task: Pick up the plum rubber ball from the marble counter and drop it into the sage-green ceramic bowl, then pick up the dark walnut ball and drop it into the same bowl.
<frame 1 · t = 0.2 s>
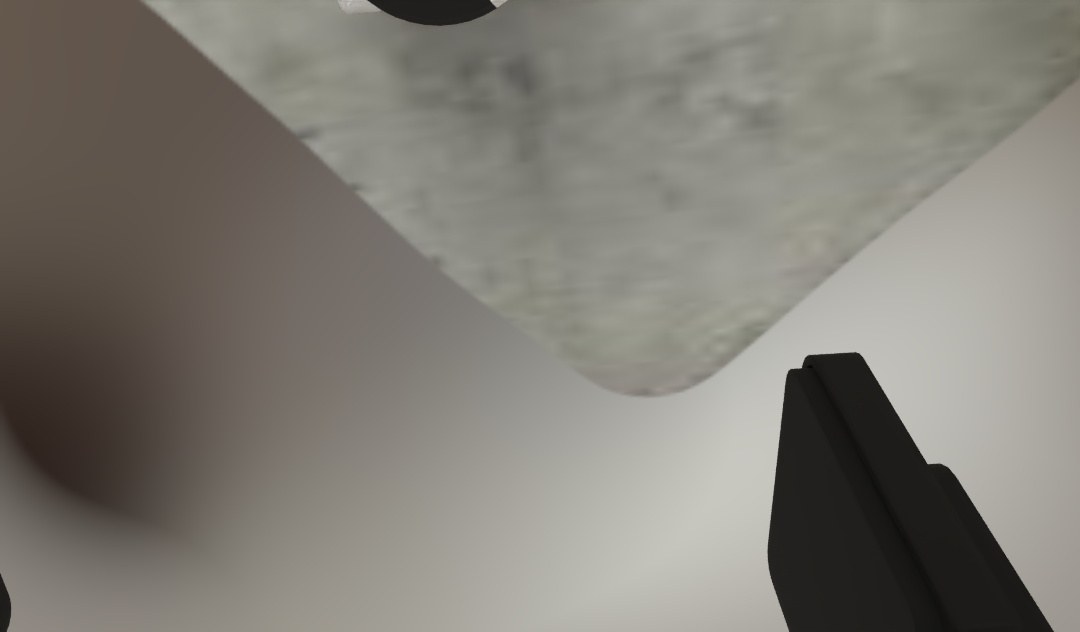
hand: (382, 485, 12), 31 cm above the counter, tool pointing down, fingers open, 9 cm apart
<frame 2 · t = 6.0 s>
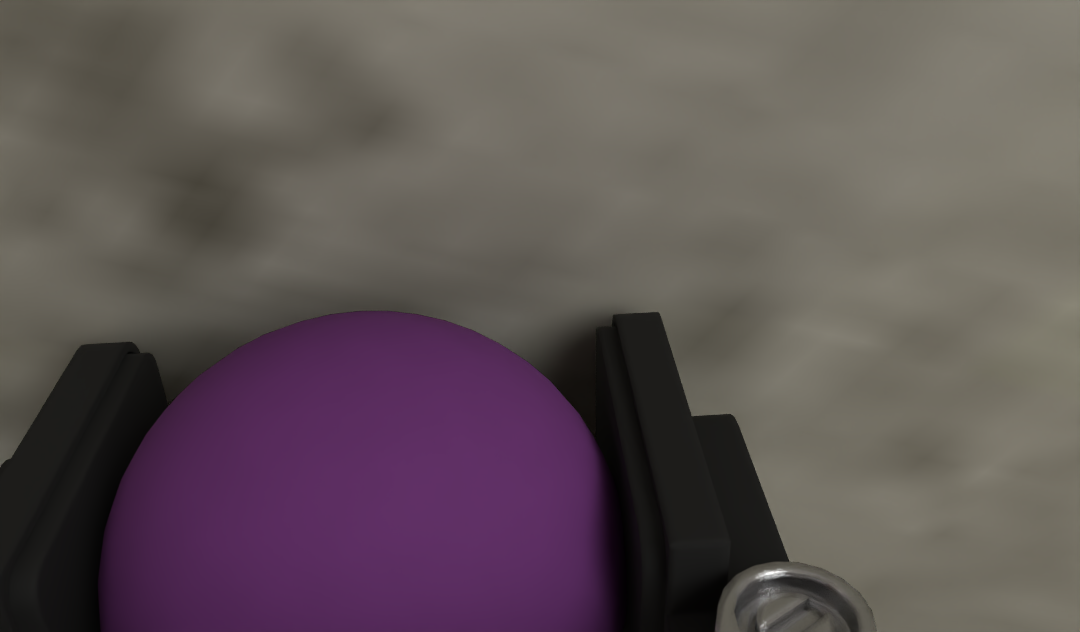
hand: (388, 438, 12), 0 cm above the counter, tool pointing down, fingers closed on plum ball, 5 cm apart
plum ball: (374, 565, 11), point 3 cm above the counter, touching gripper
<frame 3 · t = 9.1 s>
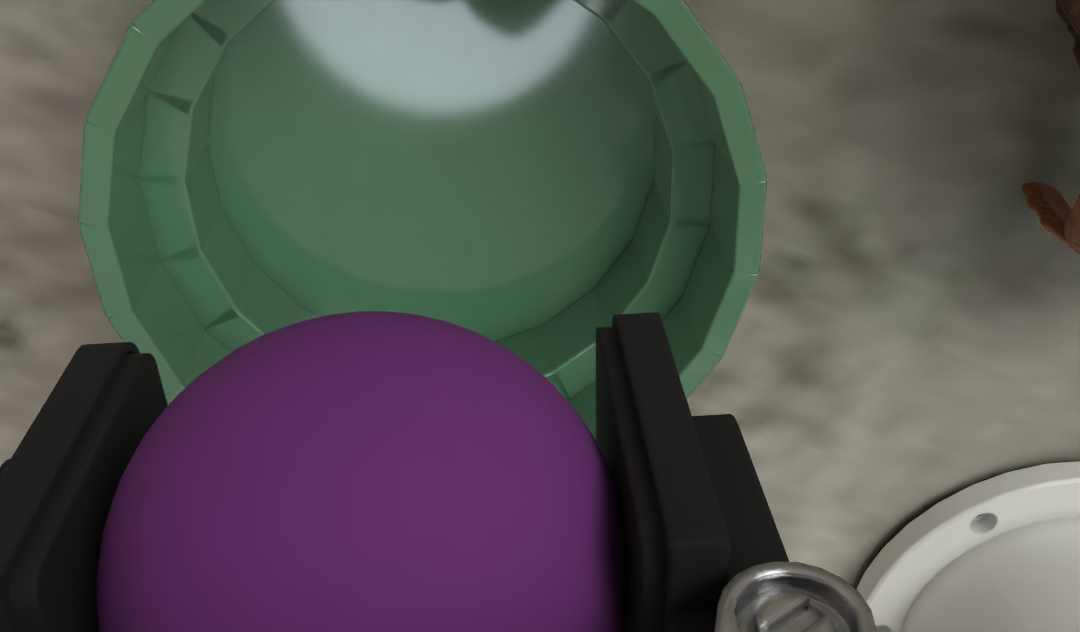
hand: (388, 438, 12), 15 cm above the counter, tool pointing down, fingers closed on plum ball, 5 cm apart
bowl: (436, 152, 27), on the counter
plum ball: (373, 566, 11), point 17 cm above the counter, touching gripper
when the fingers open (4 cm above the counter, at t = 12.3 s): plum ball drops 3 cm, resting on bowl.
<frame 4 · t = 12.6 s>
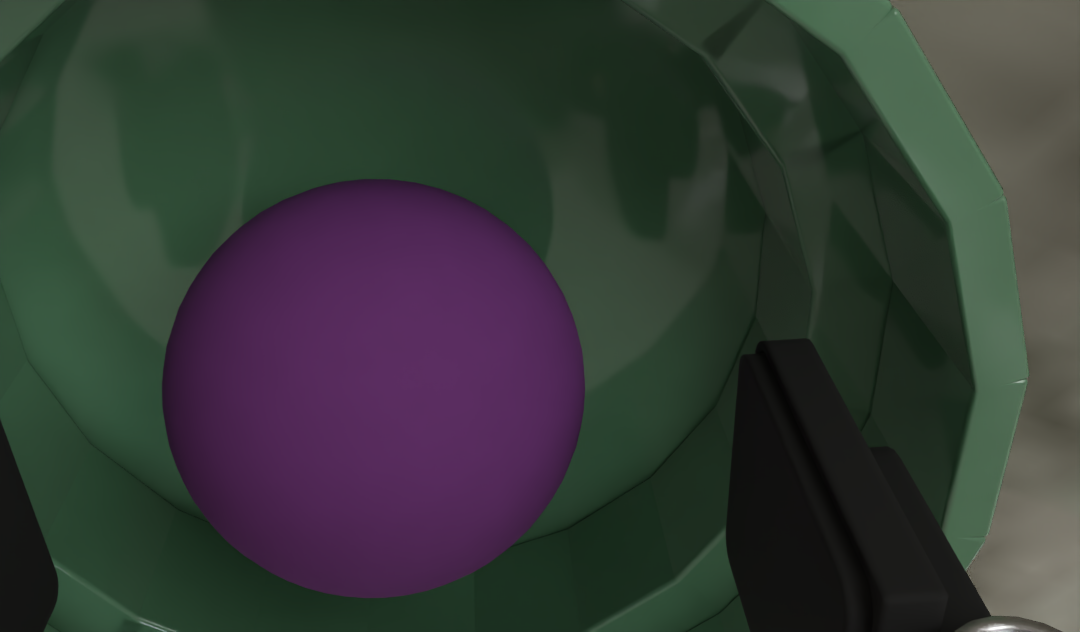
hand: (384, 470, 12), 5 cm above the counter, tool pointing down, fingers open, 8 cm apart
bowl: (393, 266, 16), on the counter
plum ball: (380, 385, 13), point 3 cm above the counter, touching bowl
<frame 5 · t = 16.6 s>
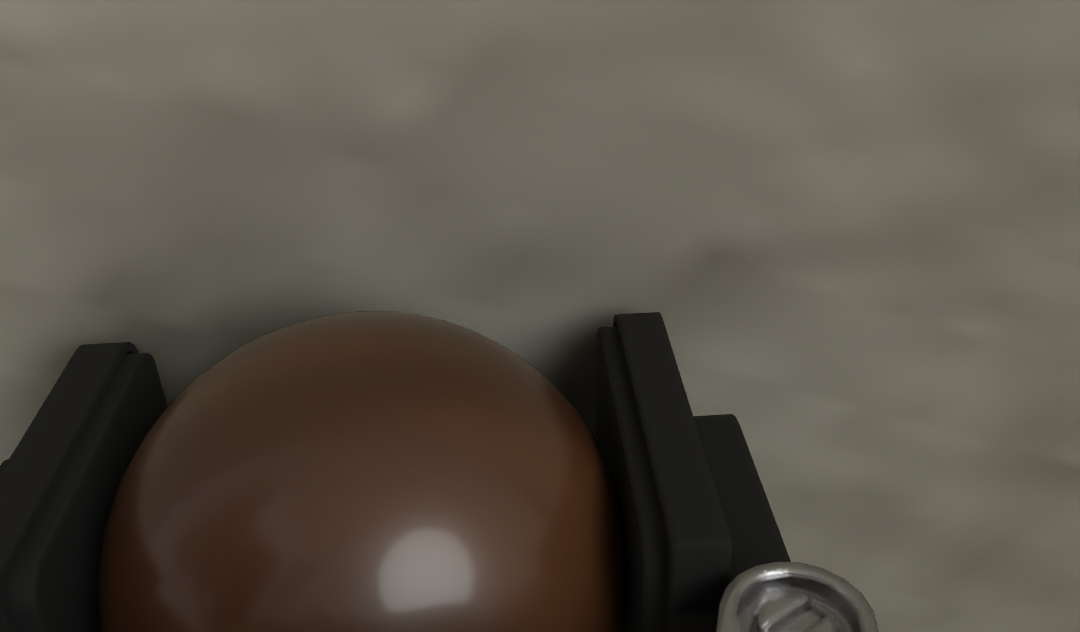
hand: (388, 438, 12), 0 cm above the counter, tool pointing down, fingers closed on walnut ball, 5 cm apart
walnut ball: (374, 565, 11), point 3 cm above the counter, touching gripper
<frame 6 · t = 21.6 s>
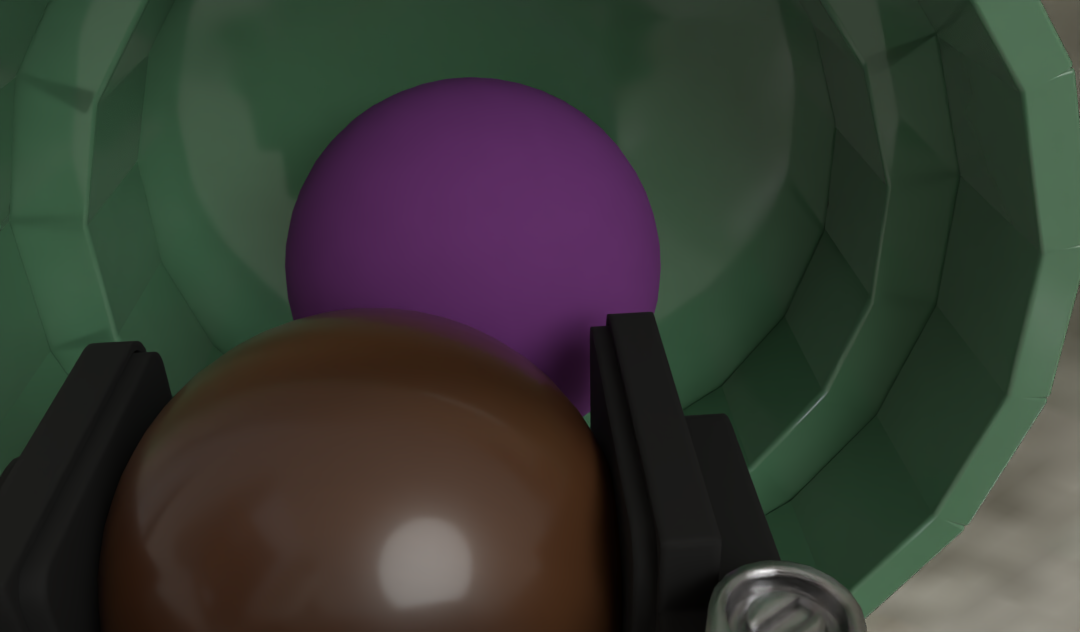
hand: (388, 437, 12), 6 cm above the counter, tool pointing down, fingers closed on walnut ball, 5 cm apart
walnut ball: (374, 562, 11), point 8 cm above the counter, touching gripper, plum ball
bowl: (492, 180, 17), on the counter
plum ball: (475, 266, 15), point 3 cm above the counter, tilted 7°, touching bowl, walnut ball
when the fingers open (6 cm above the counter, at t = 21.6 s): walnut ball drops 4 cm and tips over, resting on bowl.
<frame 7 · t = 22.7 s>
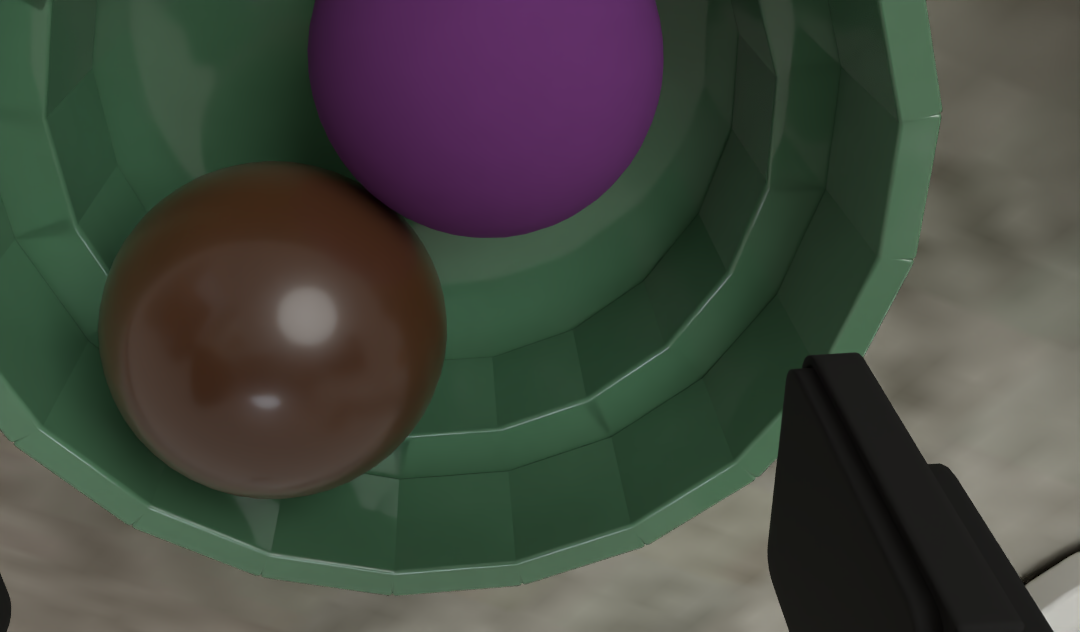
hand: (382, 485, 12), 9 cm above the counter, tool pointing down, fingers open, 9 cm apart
walnut ball: (279, 329, 16), point 4 cm above the counter, tilted 127°, touching bowl
bowl: (425, 87, 19), on the counter
plum ball: (487, 62, 15), point 3 cm above the counter, tilted 37°, touching bowl
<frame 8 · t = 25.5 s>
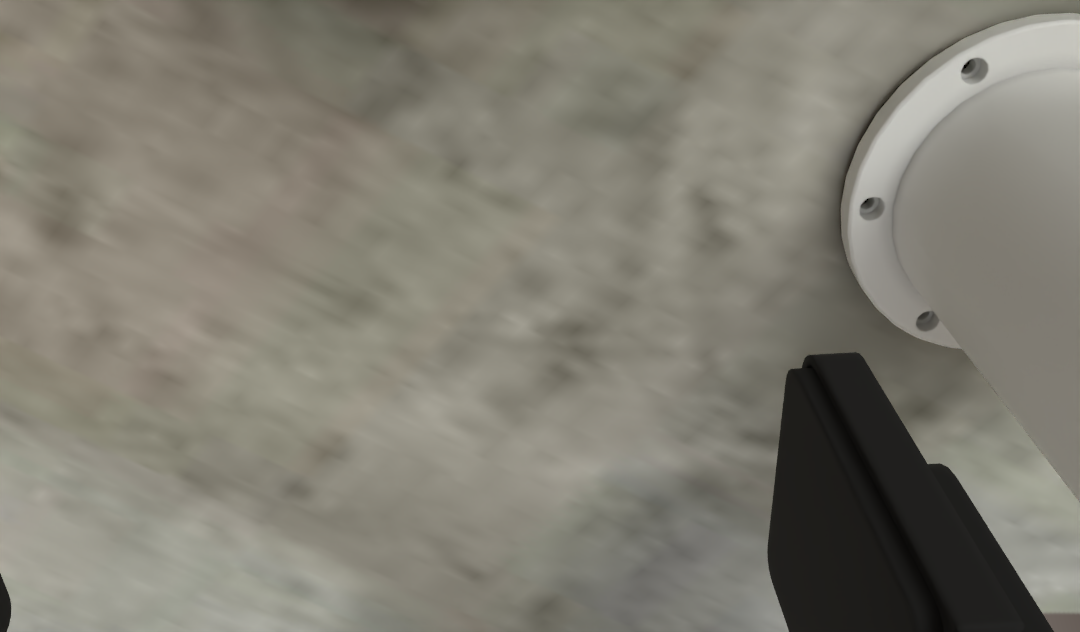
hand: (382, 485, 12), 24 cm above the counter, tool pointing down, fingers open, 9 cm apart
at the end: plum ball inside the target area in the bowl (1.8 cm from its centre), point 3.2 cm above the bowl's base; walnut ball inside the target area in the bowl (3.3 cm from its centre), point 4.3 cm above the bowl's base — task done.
